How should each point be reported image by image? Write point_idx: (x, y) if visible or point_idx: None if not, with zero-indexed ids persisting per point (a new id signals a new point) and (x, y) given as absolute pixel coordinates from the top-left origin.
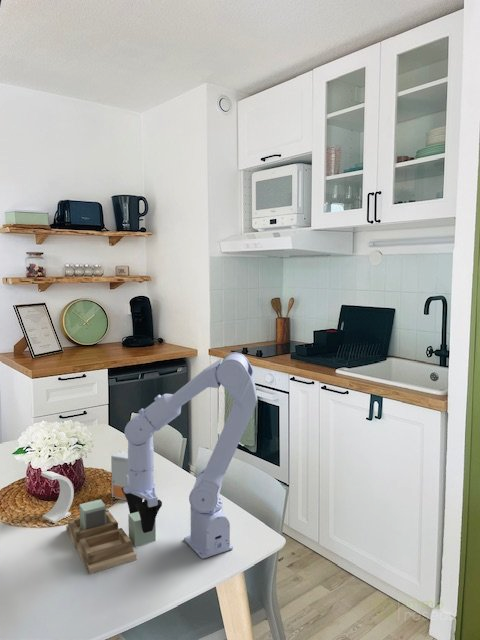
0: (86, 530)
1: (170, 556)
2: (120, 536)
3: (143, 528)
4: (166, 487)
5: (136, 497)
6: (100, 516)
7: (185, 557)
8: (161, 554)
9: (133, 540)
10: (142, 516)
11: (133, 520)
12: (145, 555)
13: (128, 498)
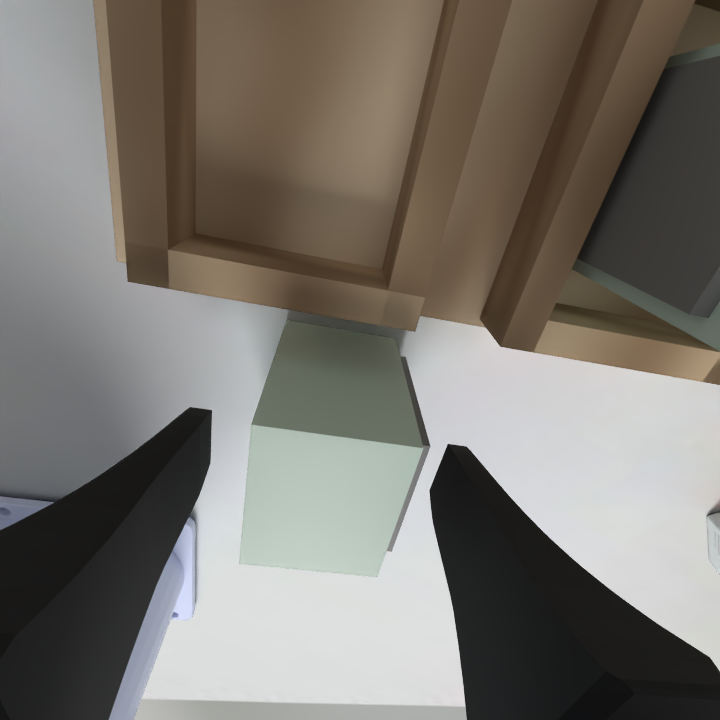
0: (651, 33)
1: (77, 408)
2: (343, 273)
3: (164, 428)
4: None
5: (489, 637)
6: (664, 241)
7: (33, 452)
8: (120, 386)
9: (307, 337)
10: (28, 520)
11: (280, 428)
12: (156, 318)
13: (528, 595)
